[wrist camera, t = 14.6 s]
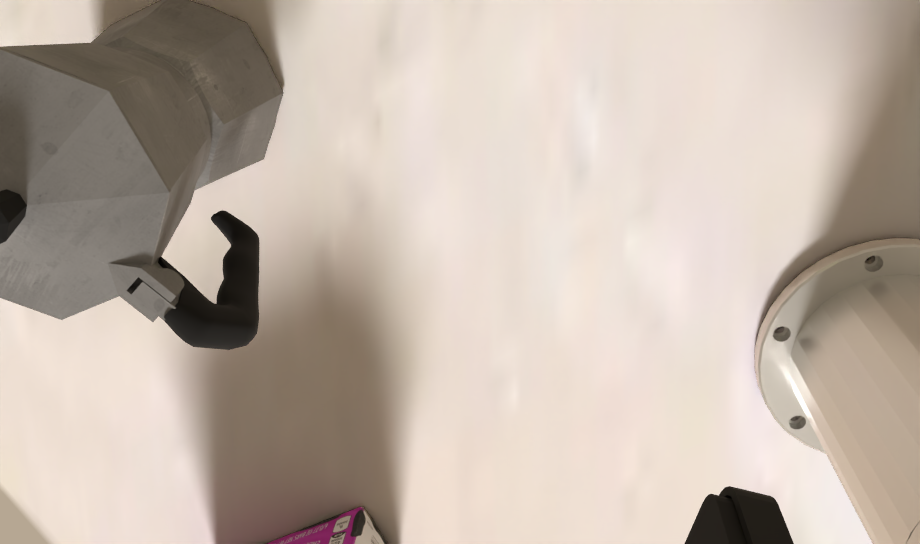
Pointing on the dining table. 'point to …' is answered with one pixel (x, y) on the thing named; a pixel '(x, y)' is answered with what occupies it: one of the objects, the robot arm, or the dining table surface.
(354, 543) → the candy bar box
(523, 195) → the dining table surface
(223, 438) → the dining table surface
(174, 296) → the coffeepot
